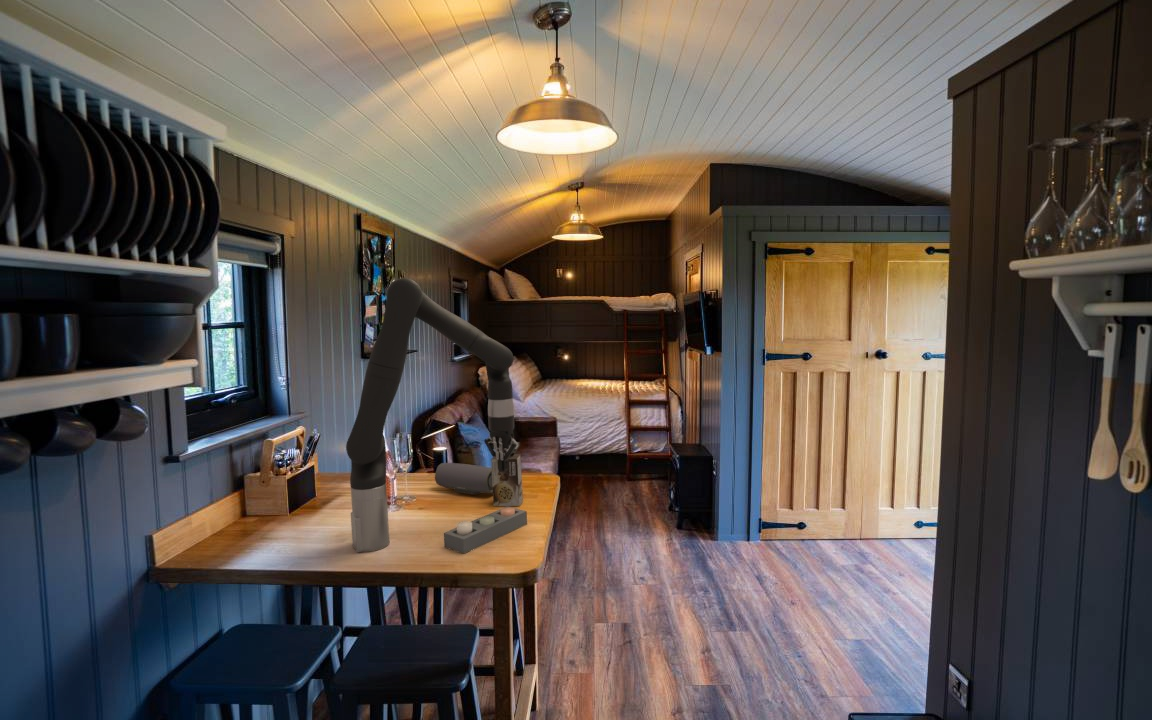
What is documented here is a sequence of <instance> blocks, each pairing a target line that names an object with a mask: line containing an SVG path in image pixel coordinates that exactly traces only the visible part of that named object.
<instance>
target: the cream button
mask: <svg viewBox="0 0 1152 720" xmlns="http://www.w3.org/2000/svg"><path fill="white" fill-rule="evenodd" d="M456 528H457V534H459V535H462V536H466V535H468V534H470V533H472V522H471V521H468V520H467V521H466V520H465V521H459V522H457V523H456Z"/></svg>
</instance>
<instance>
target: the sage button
mask: <svg viewBox="0 0 1152 720" xmlns="http://www.w3.org/2000/svg"><path fill="white" fill-rule="evenodd" d="M481 517H482V518H481ZM481 517H479V518H480V524H481V525H485V526H488V525H491V524H493V523H495V521H494V517H491V516H486V517H483V516H481Z"/></svg>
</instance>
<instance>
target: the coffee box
mask: <svg viewBox="0 0 1152 720" xmlns="http://www.w3.org/2000/svg"><path fill="white" fill-rule="evenodd" d="M490 468H491V469H492V486H493V493H492V499H493V500H492V502H493V503H492V504H493V505H492V506H493V507H507V506H508V507H520V506H521V505H522V503H523V501H524V496H523V495H524V494H523V493H524V492H523V491H524V490H523V476H522V475H523V472H522V470H523V469H522V454H521V453H515V454H514V456H513V457H512V458H509V459H508V470H507V472H504V473H502V472H499V470H498V460H497V459H496V457H493V456H492V458H491V459H490Z"/></svg>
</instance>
